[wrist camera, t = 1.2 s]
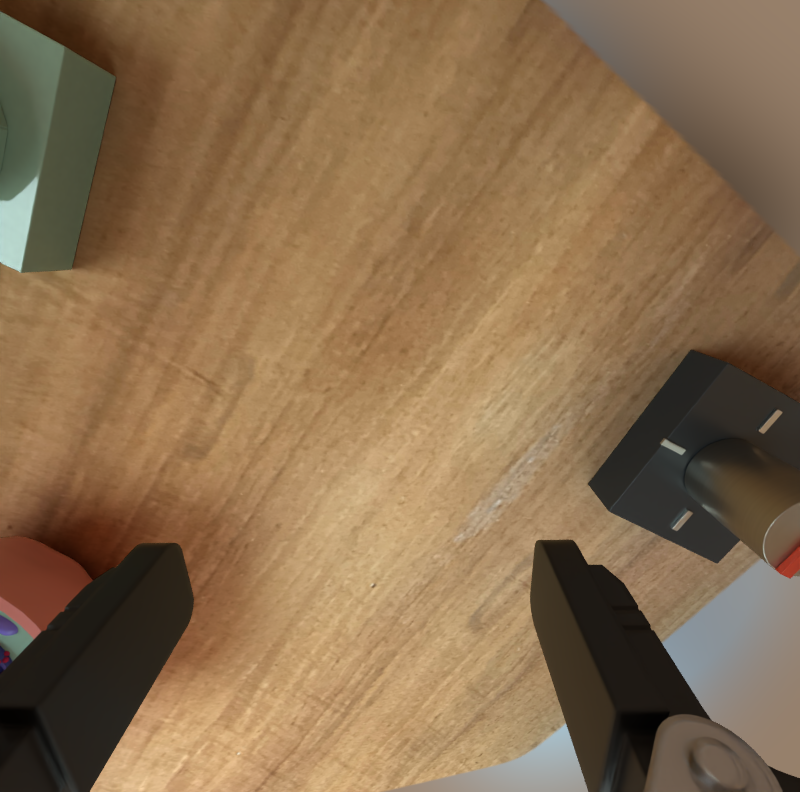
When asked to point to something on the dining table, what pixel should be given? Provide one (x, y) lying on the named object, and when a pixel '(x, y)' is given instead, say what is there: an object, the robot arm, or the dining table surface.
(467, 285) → the dining table surface
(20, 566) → the cell model
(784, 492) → the knob
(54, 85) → the button base
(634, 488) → the panel
